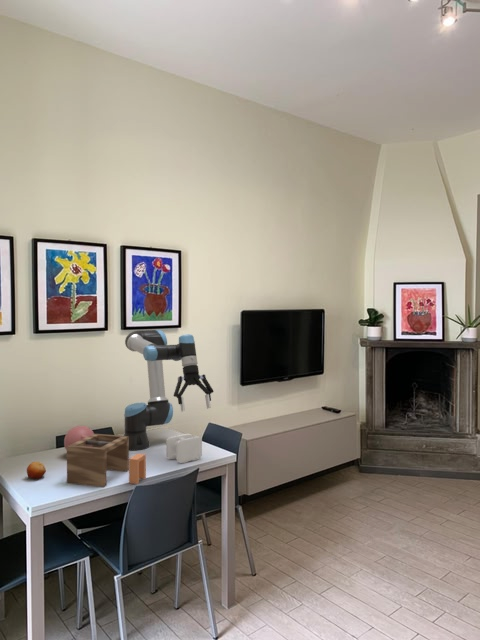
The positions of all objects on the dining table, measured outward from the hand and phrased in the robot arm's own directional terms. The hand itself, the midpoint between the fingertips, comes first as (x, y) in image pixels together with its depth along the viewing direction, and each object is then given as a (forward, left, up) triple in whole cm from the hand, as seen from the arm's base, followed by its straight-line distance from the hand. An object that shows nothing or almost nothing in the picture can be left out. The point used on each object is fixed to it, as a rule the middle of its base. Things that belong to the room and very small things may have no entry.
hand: (196, 409), depth 226 cm
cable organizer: (-11, -10, -28) cm, 32 cm away
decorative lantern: (-1, -62, -28) cm, 68 cm away
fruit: (+31, -64, -28) cm, 77 cm away
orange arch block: (+22, -19, -28) cm, 41 cm away
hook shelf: (+22, -38, -28) cm, 52 cm away
